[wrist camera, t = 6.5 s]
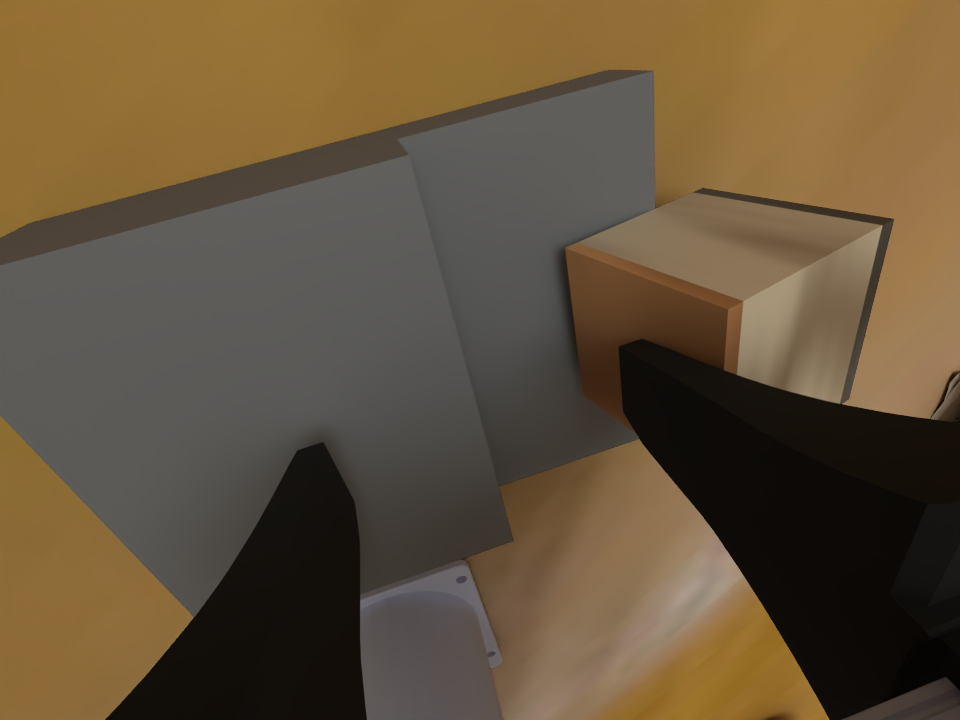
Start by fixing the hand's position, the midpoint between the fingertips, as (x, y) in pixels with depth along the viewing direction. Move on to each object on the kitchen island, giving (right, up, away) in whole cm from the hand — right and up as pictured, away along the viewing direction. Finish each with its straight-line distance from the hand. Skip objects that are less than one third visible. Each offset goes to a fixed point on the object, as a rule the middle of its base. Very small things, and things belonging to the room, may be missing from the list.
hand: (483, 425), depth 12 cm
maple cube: (+4, +1, +1) cm, 4 cm away
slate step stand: (-3, +3, +5) cm, 6 cm away
